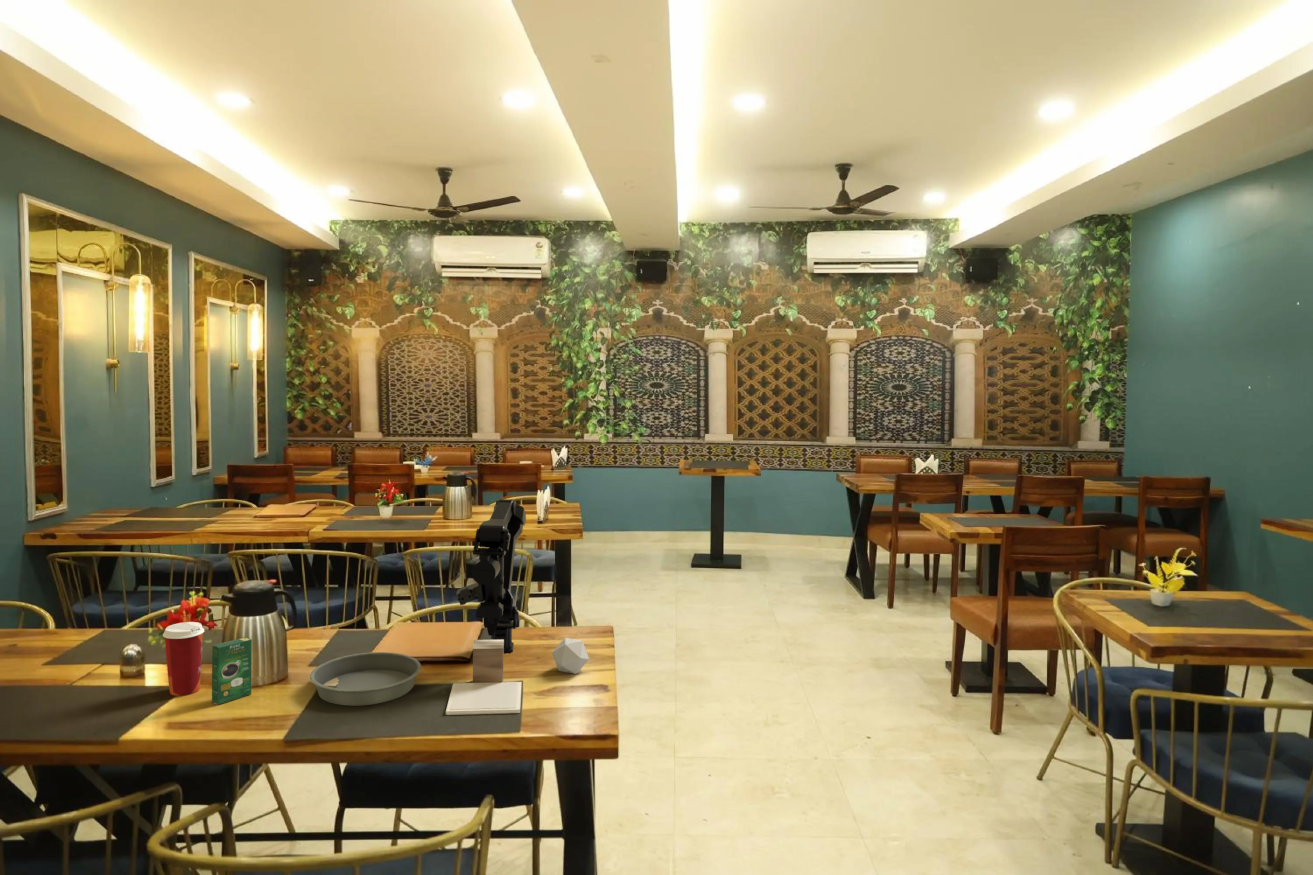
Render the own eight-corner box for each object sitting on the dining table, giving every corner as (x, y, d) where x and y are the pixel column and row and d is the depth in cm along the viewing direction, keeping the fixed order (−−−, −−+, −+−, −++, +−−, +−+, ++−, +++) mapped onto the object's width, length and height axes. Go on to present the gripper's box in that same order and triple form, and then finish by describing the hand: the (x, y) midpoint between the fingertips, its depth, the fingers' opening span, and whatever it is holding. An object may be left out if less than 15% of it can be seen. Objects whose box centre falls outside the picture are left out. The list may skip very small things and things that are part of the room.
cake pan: (371, 662, 213) (371, 644, 213) (442, 682, 201) (443, 664, 201) (286, 693, 192) (286, 674, 192) (360, 718, 180) (360, 698, 179)
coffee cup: (213, 687, 193) (212, 623, 192) (183, 700, 186) (181, 634, 184) (186, 681, 196) (185, 619, 195) (154, 694, 188) (153, 629, 187)
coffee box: (245, 691, 192) (245, 635, 191) (253, 694, 190) (252, 637, 189) (211, 702, 185) (210, 644, 184) (218, 705, 183) (217, 647, 182)
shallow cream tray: (453, 686, 198) (453, 682, 198) (521, 685, 201) (521, 681, 200) (445, 714, 182) (445, 710, 182) (519, 712, 185) (520, 708, 185)
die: (594, 671, 213) (582, 635, 217) (589, 665, 205) (577, 628, 209) (563, 682, 212) (552, 646, 216) (557, 677, 205) (546, 640, 208)
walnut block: (473, 679, 203) (474, 639, 202) (503, 679, 204) (503, 639, 203) (472, 686, 199) (473, 645, 198) (502, 685, 200) (503, 644, 199)
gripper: (462, 565, 217) (461, 623, 218) (455, 584, 198) (454, 648, 200) (505, 565, 218) (504, 623, 220) (502, 584, 200) (501, 647, 201)
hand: (490, 635), depth 210 cm, fingers closed
